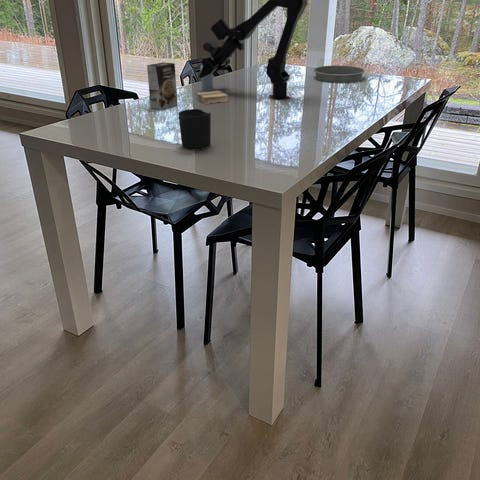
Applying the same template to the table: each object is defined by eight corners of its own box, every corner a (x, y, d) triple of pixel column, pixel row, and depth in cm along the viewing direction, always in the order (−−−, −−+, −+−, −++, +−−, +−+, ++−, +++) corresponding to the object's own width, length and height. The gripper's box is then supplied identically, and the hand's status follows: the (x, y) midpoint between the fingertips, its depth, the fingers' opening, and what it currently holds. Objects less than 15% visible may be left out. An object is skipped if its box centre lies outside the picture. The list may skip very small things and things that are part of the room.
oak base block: (228, 101, 196) (228, 95, 195) (205, 104, 193) (205, 97, 192) (219, 96, 204) (218, 90, 203) (196, 99, 201) (196, 92, 200)
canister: (215, 92, 212) (214, 66, 206) (204, 93, 210) (202, 67, 204) (210, 90, 216) (209, 64, 210) (200, 91, 214) (198, 65, 209)
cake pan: (303, 77, 242) (303, 67, 239) (344, 72, 250) (344, 63, 248) (331, 86, 222) (332, 76, 220) (374, 81, 231) (375, 71, 229)
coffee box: (161, 110, 185) (158, 66, 177) (150, 108, 188) (145, 64, 180) (178, 105, 191) (175, 63, 183) (166, 103, 194) (163, 61, 187)
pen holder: (212, 140, 151) (210, 108, 146) (211, 150, 143) (210, 116, 138) (182, 141, 151) (179, 109, 146) (179, 151, 143) (177, 117, 138)
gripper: (223, 32, 207) (201, 57, 216) (204, 36, 192) (181, 64, 201) (240, 52, 209) (217, 77, 218) (223, 58, 194) (199, 85, 203)
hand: (204, 75), depth 210 cm, fingers open, 9 cm apart
